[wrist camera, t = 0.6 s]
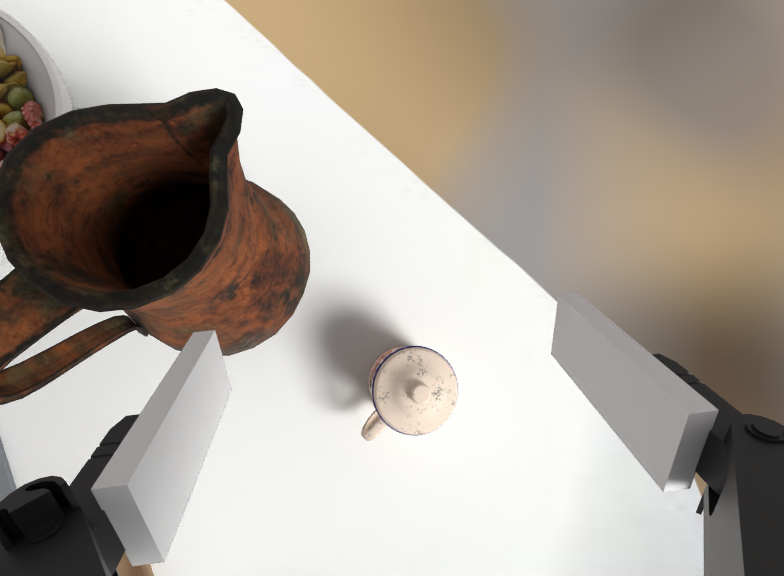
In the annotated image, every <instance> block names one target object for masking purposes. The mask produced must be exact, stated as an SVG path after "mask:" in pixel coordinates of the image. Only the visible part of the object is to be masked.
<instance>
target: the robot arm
mask: <svg viewBox="0 0 784 576" xmlns="http://www.w3.org/2000/svg"><path fill="white" fill-rule="evenodd" d="M551 354H552V356H553V357H554V358H555V359H556V361H557V362H558V363H559V364H560V366H561V367H562V368H563V369H564V370H565V372H566V373H567V374H568V375H569V377H570V378H571V379H572V380H573V382H574V383H575V384H576V385H577V386H578V388H579V389H580V390H581V391H582V393H583V394H584V395H585V396H586V398H587V399H588V400H589V401H590V402H591V404H592V405H593V406H594V407H595V409H596V410H597V411H598V412H599V414H600V415H601V416H602V417H603V418H604V420H605V421H606V422H607V423H608V425H609V426H610V427H611V428H612V430H613V431H614V432H615V433H616V434H617V436H618V437H619V438H620V439H621V441H622V442H623V443H624V444H625V446H626V447H627V448H628V449H629V450H630V452H631V453H632V454H633V455H634V457H635V458H636V459H637V460H638V462H639V463H640V464H641V465H642V466H643V468H644V469H645V470H646V471H647V473H648V474H649V475H650V476H651V477H652V479H653V480H654V481H655V482H656V484H657V485H658V486H659V487H660V489H661V490H662V491H663V492H667V491H675V490H682V489H689V488H690V487H691V484H692V481H693V479H694V476H695V473H696V472H697V473H698V474H699V476H700V477H701V478H702V479H703V480H704V481H705V482H706V483H707V485H706V488H705V490H704V493H703V495H702V498H701V500H700V503H699V506H698V508H697V511H696V513H698V514H701V513H702V511H703V509H704V576H784V426H783V425H781V424H779V423H777V422H775V421H773V420H770V419H767V418H765V417H762V416H757V415H752V414H742V413H740V412H739V411H738V410H736V409H735V408H734V407H733V406H731V405H730V404H729V403H728V402H726V401H725V400H724V399H722V398H721V397H720V396H718V395H717V394H716V393H715V392H714V391H712V390H711V389H710V388H709V387H707V386H706V385H705V384H702V383H701V381H700V380H698V379H697V378H696V377H695V376H693V375H690V373H689V372H688V371H687V370H686V369H684V368H683V367H682V366H681V365H679V364H678V363H677V362H675V361H673V360H671V359H669V358H667V357H665V356H663V355H661V354H653V355H652V354H650V353H649V352H648V351H647V350H646V349H644V348H643V347H642V346H641V345H640V344H638V343H637V342H636V341H635V340H633V339H632V338H631V337H630V336H629V335H627V334H626V333H625V332H624V331H622V330H621V329H620V328H619V327H618V326H617V325H615V324H614V323H613V322H612V321H611V320H609V319H608V318H607V317H605V316H604V315H603V314H602V313H601V312H600V311H598V310H597V309H596V308H595V307H594V306H592V305H591V304H590V303H589V302H588V301H586V300H585V299H584V298H583V297H582V296H580V295H579V294H578V293H574V294H564V295H559V297H558V304H557V312H556V319H555V327H554V334H553V342H552V350H551ZM231 391H232V388H231V384H230V381H229V377H228V374H227V370H226V367H225V363H224V360H223V356H222V353H221V349H220V346H219V342H218V339H217V335H216V332H215V330H211V331H201V332H194V333H193V334H192V336H191V337H190V339H189V340H188V342H187V343H186V345H185V346H184V348H183V349H182V351H181V352H180V354H179V355H178V357H177V358H176V360H175V362H174V363H173V365H172V366H171V368H170V369H169V371H168V372H167V374H166V375H165V377H164V378H163V380H162V381H161V383H160V384H159V386H158V387H157V389H156V391H155V392H154V394H153V395H152V397H151V398H150V400H149V401H148V403H147V404H146V406H145V407H144V409H143V410H142V412H141V413H140V414H139V415H130V416H126V417H124V418H123V419H122V420H121V421H120V422H118V423H117V424H116V425H115V426H114V427H112V428H111V429H110V430H109V432H108V433H107V434H106V436H105V437H104V439H103V440H102V441H101V443H100V446H99V447H97V448H96V450H95V451H94V453H93V454H92V455H91V459H89V460H88V461H87V462H86V464H85V465H84V467H83V468H82V469H81V471H80V472H79V474H78V475H77V476H76V478H75V479H74V481H73V482H72V483H71V485H70V486H68V484H67V482H66V481H65V480H64V479H63V478H62V477H56V476H49V477H44V478H39V479H37V480H34V481H32V482H29V483H27V484H25V485H23V486H21V487H20V488H18V489H16V490H15V491H13V492H12V493H10V494H9V495H8V496H6V497H5V498H4V499H3V500H2V501H1V502H0V576H120V574H119V573H118V571H117V569H116V568H117V566H118V564H119V562H120V560H121V558H122V556H123V554H124V552H125V553H126V555H127V557H128V559H129V561H130V563H131V564H132V566H139V565H146V564H153V563H160V562H165V559H166V557H167V554H168V552H169V549H170V547H171V544H172V542H173V539H174V536H175V534H176V531H177V529H178V526H179V524H180V521H181V519H182V516H183V513H184V511H185V508H186V506H187V503H188V501H189V498H190V496H191V493H192V491H193V488H194V485H195V483H196V480H197V478H198V475H199V473H200V470H201V468H202V465H203V462H204V460H205V457H206V455H207V452H208V450H209V447H210V445H211V442H212V440H213V437H214V434H215V432H216V429H217V427H218V424H219V422H220V419H221V417H222V414H223V411H224V409H225V406H226V404H227V401H228V399H229V396H230V394H231Z"/></svg>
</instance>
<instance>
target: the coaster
mask: <svg viewBox="0 0 784 576" xmlns="http://www.w3.org/2000/svg"><path fill="white" fill-rule="evenodd" d="M15 490H16V486H15V483H14V480H13V477H12V474H11V470H10V467H9V464H8V461H7V458H6V454H5V451H4V448H3V445H2V442H1V438H0V502H1V501H2V500H3V499H4V498H5V497H6V496H8V495H9V494H10V493H12V492H13V491H15Z"/></svg>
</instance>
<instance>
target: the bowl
mask: <svg viewBox="0 0 784 576" xmlns="http://www.w3.org/2000/svg"><path fill="white" fill-rule="evenodd" d="M72 110H73V109H72V103H71V99H70V95H69V92H68V89H67V86H66V84H65V81H64V79H63V77H62V75H61V73H60V71H59V69H58V68H57V66H56V64H55V63H54V61H53V60H52V58H51V57H50V55H49V54H48V53H47V51H46V50H45V49H44V48H43V46H42V45H41V44H40V43H39V42H38V41H37V40H36V39H35V38H34V37H33V36H32V35H31V34H30V33H29V32H28V31H27V30H26V29H25V28H24V27H23V26H22V25H21V24H20V23H18V22H17V21H16V20H15V19H13V18H12V17H11V16H9V15H8V14H6V13H5V12H3V11H2V10H0V168H1V165H2V163H3V160H4V158H5V155H6V154H7V153H8V152H9V151H10V150H11V149H12V148H14V147H15V146H16V145H17V144H18V143H19V142H20V141H21V140H22V139H23V138H24V137H25V136H26V135H27V134H28V133H29V132H30V131H31V130H32V129H33V128H34V127H36V126H38V125H41V124H43V123H45V122H47V121H49V120H51V119H54V118H56V117H58V116H60V115H62V114H65V113H67V112H69V111H72Z"/></svg>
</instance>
